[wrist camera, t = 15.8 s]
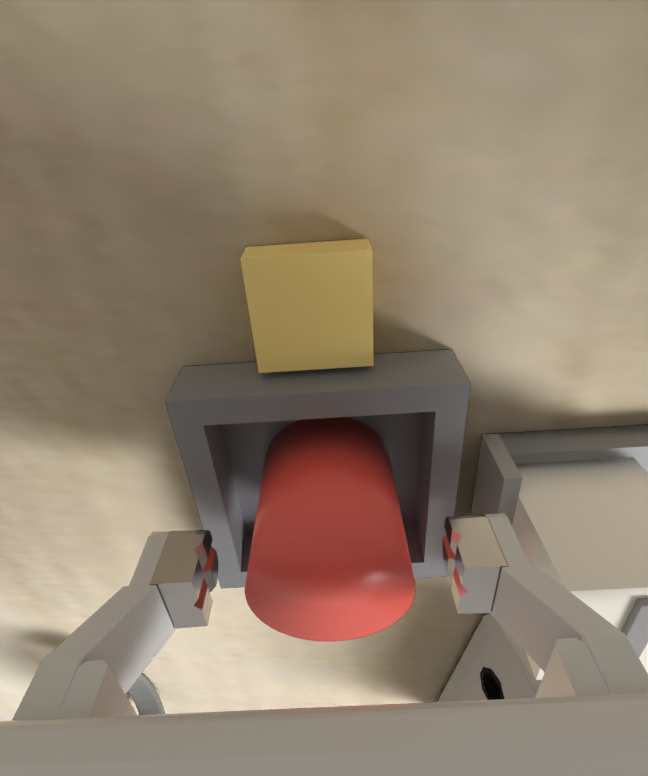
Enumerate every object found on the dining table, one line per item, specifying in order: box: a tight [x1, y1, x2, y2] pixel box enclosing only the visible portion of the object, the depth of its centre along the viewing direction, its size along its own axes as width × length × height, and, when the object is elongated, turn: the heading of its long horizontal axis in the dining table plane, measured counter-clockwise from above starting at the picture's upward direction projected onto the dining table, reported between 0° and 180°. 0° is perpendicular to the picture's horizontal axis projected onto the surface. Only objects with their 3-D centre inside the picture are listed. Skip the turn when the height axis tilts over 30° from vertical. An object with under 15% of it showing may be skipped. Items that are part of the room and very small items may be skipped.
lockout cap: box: [245, 417, 415, 641], centre depth 13 cm, size 4×4×4 cm
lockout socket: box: [165, 239, 470, 588], centre depth 13 cm, size 8×11×2 cm
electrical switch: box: [437, 613, 542, 702], centre depth 18 cm, size 9×5×9 cm, turn 172°
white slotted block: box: [512, 457, 648, 680], centre depth 13 cm, size 4×4×5 cm
